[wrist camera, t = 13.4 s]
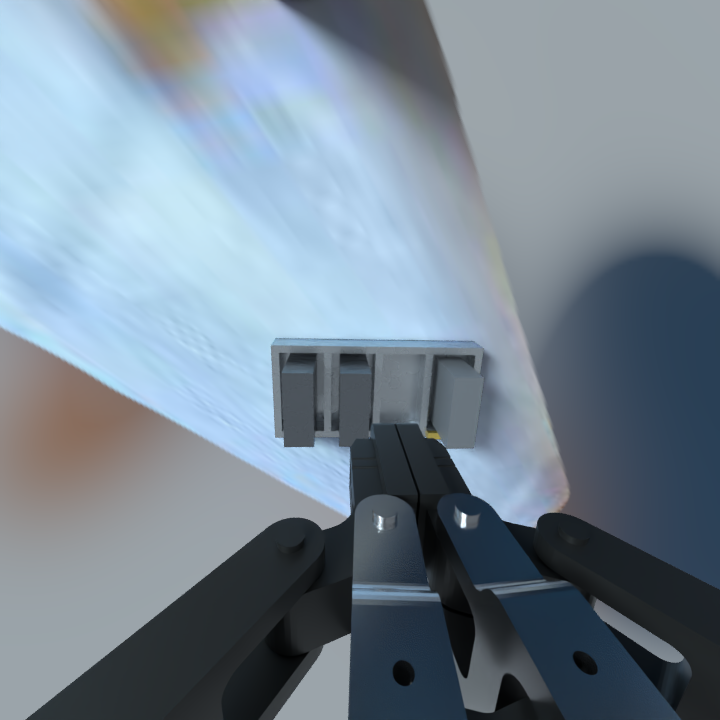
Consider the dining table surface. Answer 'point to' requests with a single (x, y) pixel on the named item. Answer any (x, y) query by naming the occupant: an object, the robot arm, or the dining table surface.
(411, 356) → the rack
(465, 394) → the grey block
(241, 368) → the dining table surface
